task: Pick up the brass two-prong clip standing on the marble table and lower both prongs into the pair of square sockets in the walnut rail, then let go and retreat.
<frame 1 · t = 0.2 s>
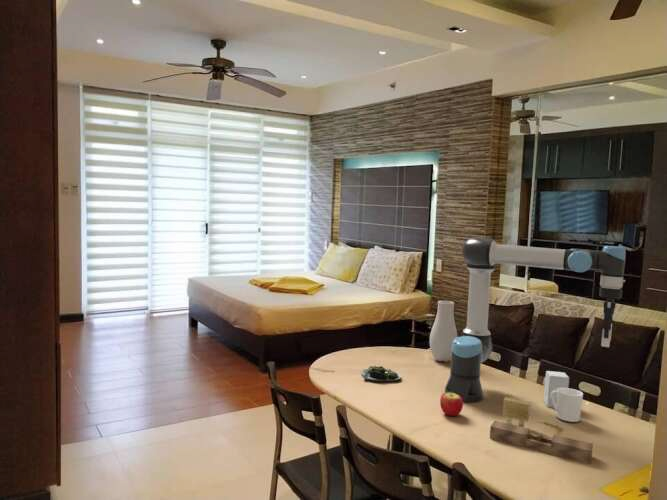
hand: (606, 343, 196), 28 cm above the table, fingers open, 13 cm apart
supplement box: (554, 405, 206), on the table
apple: (450, 415, 191), on the table
clip: (515, 425, 183), on the table
salad plate: (380, 378, 230), on the table
rail: (539, 446, 167), on the table
mug: (564, 418, 192), on the table
vase: (442, 360, 262), on the table
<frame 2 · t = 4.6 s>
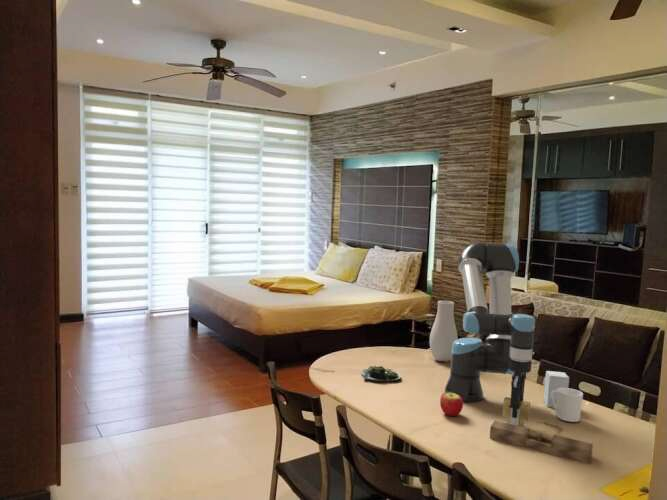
hand: (515, 424, 183), 1 cm above the table, fingers closed on clip, 3 cm apart
clip: (515, 425, 183), on the table, touching gripper
everything else where it was.
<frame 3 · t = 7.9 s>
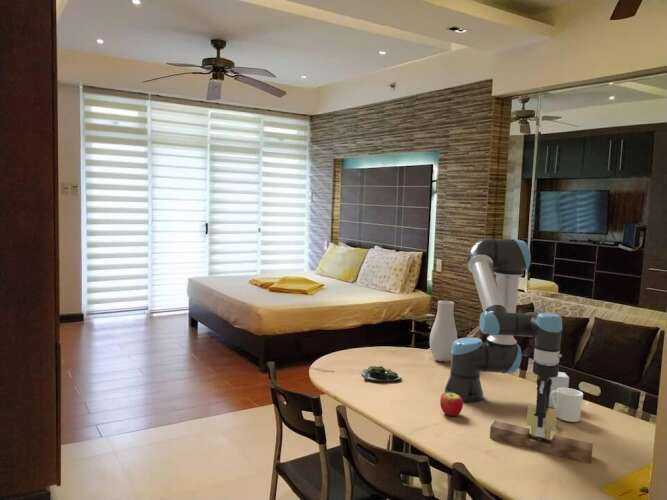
hand: (540, 434, 166), 4 cm above the table, fingers closed on clip, 3 cm apart
clip: (540, 435, 166), point 4 cm above the table, touching gripper
everything else where it was.
when the fingers open (4 cm above the table, at t = 7.9 s): clip drops 3 cm, resting on rail.
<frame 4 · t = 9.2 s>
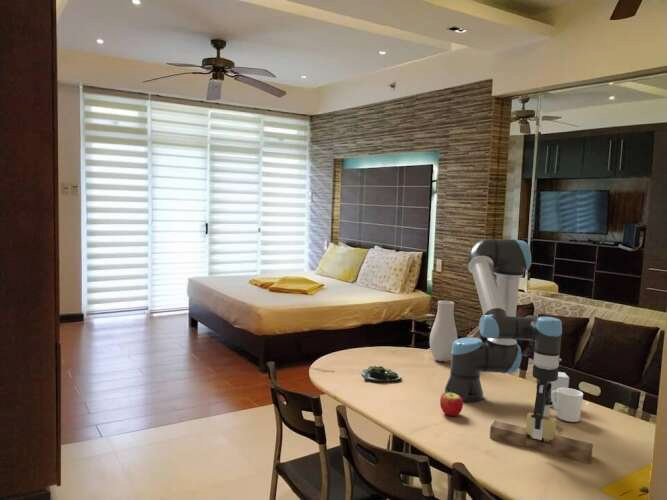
hand: (540, 431, 166), 5 cm above the table, fingers open, 13 cm apart
clip: (539, 444, 166), point 1 cm above the table, touching rail
everything else where it was.
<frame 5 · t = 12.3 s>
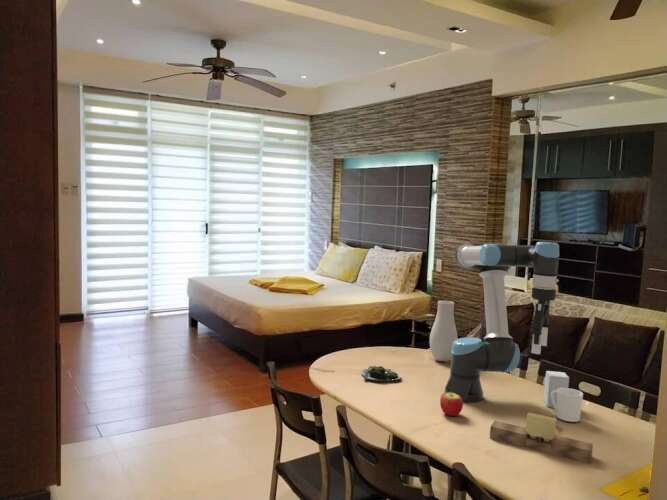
hand: (539, 349, 177), 29 cm above the table, fingers open, 13 cm apart
nothing on the table moved.
at the end: clip 0.3 cm off-centre on the rail, point 1.0 cm above the rail's base; clip tilted 0°; the gripper is holding nothing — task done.
